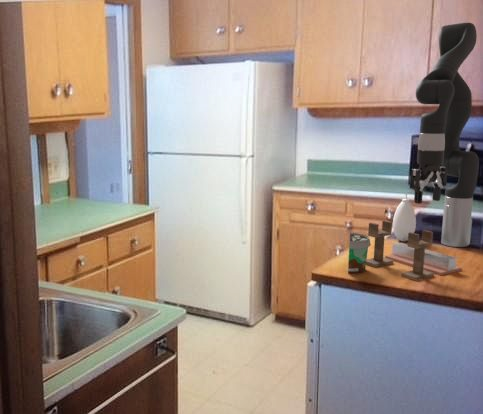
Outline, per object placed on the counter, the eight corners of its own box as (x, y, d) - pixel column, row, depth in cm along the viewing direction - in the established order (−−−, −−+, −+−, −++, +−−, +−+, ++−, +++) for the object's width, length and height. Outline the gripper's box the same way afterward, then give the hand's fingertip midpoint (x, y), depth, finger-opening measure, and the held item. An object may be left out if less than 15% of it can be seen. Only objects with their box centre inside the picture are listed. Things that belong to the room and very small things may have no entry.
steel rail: (399, 252, 178) (400, 242, 178) (455, 269, 161) (456, 257, 161) (392, 254, 176) (392, 243, 176) (447, 270, 159) (448, 259, 159)
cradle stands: (380, 259, 173) (383, 219, 171) (433, 276, 157) (437, 232, 154) (363, 263, 169) (365, 222, 166) (415, 280, 152) (418, 235, 150)
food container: (369, 276, 156) (371, 242, 154) (347, 275, 157) (349, 241, 155) (368, 264, 167) (370, 233, 166) (348, 263, 169) (349, 232, 167)
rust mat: (405, 253, 180) (406, 251, 180) (461, 270, 163) (462, 267, 163) (385, 258, 175) (385, 255, 175) (440, 275, 158) (440, 272, 157)
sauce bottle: (418, 242, 195) (422, 193, 192) (399, 243, 193) (402, 194, 190) (407, 237, 202) (410, 190, 199) (388, 238, 201) (391, 190, 197)
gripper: (435, 146, 169) (431, 198, 172) (405, 148, 161) (401, 202, 164) (456, 148, 163) (452, 201, 166) (426, 150, 155) (422, 206, 158)
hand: (427, 201), depth 165 cm, fingers open, 8 cm apart
